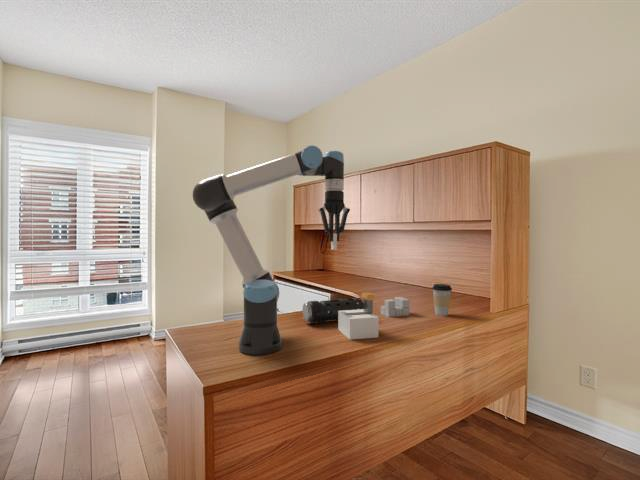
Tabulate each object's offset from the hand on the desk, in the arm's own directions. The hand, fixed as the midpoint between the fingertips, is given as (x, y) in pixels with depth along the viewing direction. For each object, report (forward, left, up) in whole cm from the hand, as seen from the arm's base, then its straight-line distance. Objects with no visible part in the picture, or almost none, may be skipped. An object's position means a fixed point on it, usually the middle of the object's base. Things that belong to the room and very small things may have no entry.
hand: (334, 249), depth 132 cm
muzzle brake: (+6, +19, -35) cm, 40 cm away
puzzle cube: (+40, +26, -35) cm, 59 cm away
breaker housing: (+10, -1, -34) cm, 36 cm away
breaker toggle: (+15, -1, -26) cm, 30 cm away
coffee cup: (+63, +17, -35) cm, 74 cm away
